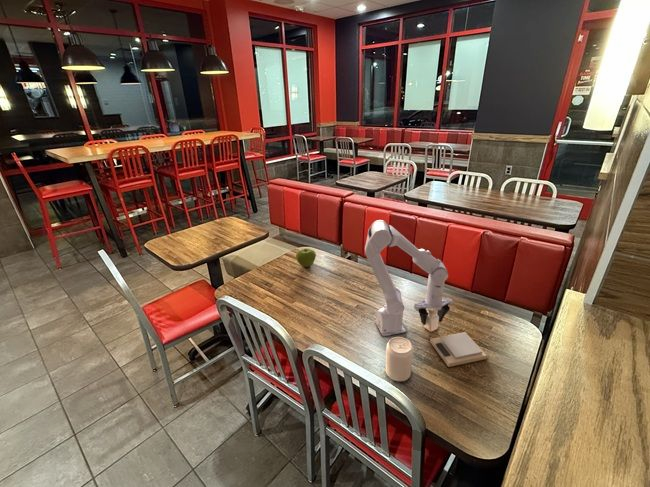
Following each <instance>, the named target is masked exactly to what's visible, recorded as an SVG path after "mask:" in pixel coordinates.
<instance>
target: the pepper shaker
mask: <svg viewBox="0 0 650 487" xmlns="http://www.w3.org/2000/svg"><path fill="white" fill-rule="evenodd" d="M437 311H438V310H436V309H427V312H428V313H429V314H428V316H427V319H426V324H425V325H423V328H424V329H426V330H427V331H429V332H431V333H432V332H434V331H435V330H438V327H439V316H438V315H437Z"/></svg>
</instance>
